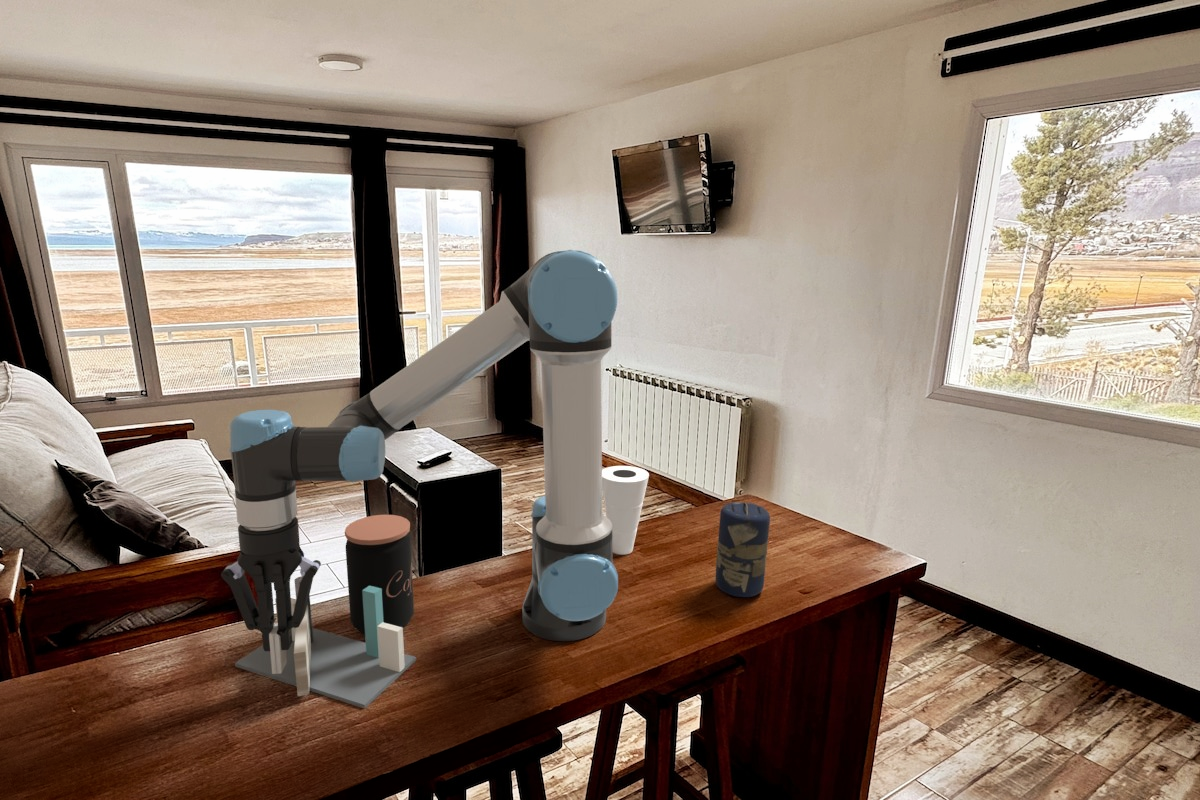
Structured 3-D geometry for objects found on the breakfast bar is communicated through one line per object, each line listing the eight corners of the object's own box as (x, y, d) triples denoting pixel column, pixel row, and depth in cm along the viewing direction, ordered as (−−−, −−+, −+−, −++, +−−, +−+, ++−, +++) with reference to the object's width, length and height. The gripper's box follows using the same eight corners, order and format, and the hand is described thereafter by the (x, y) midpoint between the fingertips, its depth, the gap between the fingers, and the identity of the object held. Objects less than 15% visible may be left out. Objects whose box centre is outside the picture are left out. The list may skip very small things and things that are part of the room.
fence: (404, 667, 99) (402, 627, 97) (399, 672, 98) (397, 631, 96) (284, 632, 107) (281, 595, 106) (278, 636, 106) (275, 598, 104)
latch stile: (385, 655, 103) (381, 588, 100) (378, 661, 101) (374, 593, 99) (373, 652, 104) (369, 585, 101) (366, 657, 102) (362, 590, 99)
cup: (646, 561, 137) (650, 482, 133) (597, 560, 137) (599, 481, 133) (644, 540, 147) (647, 466, 143) (598, 538, 147) (600, 465, 143)
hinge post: (316, 643, 105) (310, 577, 103) (307, 650, 104) (301, 583, 101) (307, 640, 106) (301, 575, 103) (297, 647, 104) (291, 580, 102)
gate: (301, 645, 103) (297, 607, 101) (311, 644, 104) (308, 605, 102) (297, 696, 91) (293, 653, 90) (309, 694, 92) (305, 651, 90)
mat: (416, 660, 102) (416, 656, 102) (364, 708, 91) (364, 704, 91) (295, 626, 110) (295, 623, 110) (235, 666, 99) (234, 663, 99)
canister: (709, 594, 124) (715, 508, 120) (719, 573, 133) (725, 492, 129) (759, 605, 120) (767, 517, 117) (766, 582, 129) (774, 499, 125)
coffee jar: (395, 642, 106) (390, 543, 102) (338, 633, 108) (331, 536, 104) (425, 608, 116) (421, 517, 112) (372, 601, 119) (366, 511, 115)
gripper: (323, 508, 94) (331, 650, 99) (229, 510, 92) (242, 655, 97) (309, 530, 86) (318, 681, 92) (207, 532, 84) (222, 687, 90)
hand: (279, 667), depth 94 cm, fingers closed
